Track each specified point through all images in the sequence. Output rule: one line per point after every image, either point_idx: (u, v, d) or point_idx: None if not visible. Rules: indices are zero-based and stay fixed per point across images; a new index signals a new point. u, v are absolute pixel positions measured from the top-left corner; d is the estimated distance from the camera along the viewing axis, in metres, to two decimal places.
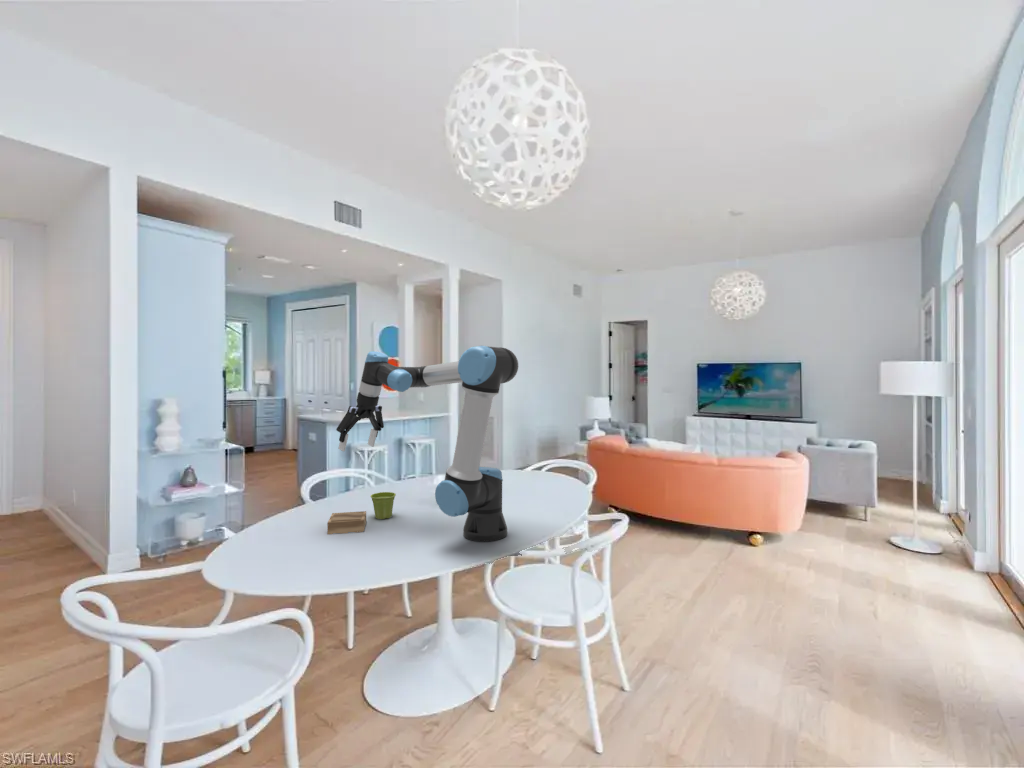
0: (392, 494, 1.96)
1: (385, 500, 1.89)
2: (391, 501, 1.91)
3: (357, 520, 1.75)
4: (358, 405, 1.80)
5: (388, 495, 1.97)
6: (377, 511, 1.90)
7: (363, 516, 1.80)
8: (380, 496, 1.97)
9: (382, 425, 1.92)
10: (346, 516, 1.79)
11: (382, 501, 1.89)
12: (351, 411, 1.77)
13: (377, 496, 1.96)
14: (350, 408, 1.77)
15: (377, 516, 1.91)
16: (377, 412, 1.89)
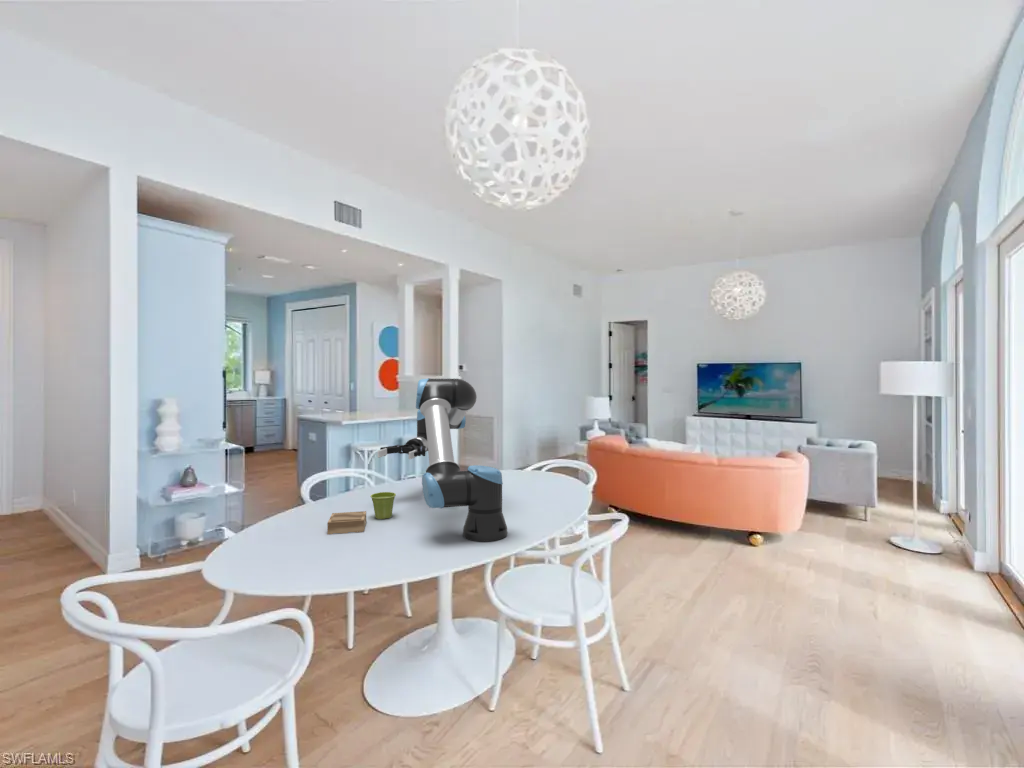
0: (392, 494, 1.96)
1: (385, 500, 1.89)
2: (391, 501, 1.91)
3: (357, 520, 1.75)
4: None
5: (388, 495, 1.97)
6: (377, 511, 1.90)
7: (363, 516, 1.80)
8: (380, 496, 1.97)
9: (423, 449, 2.07)
10: (346, 516, 1.79)
11: (382, 501, 1.89)
12: None
13: (377, 496, 1.96)
14: None
15: (377, 516, 1.91)
16: (421, 449, 2.13)
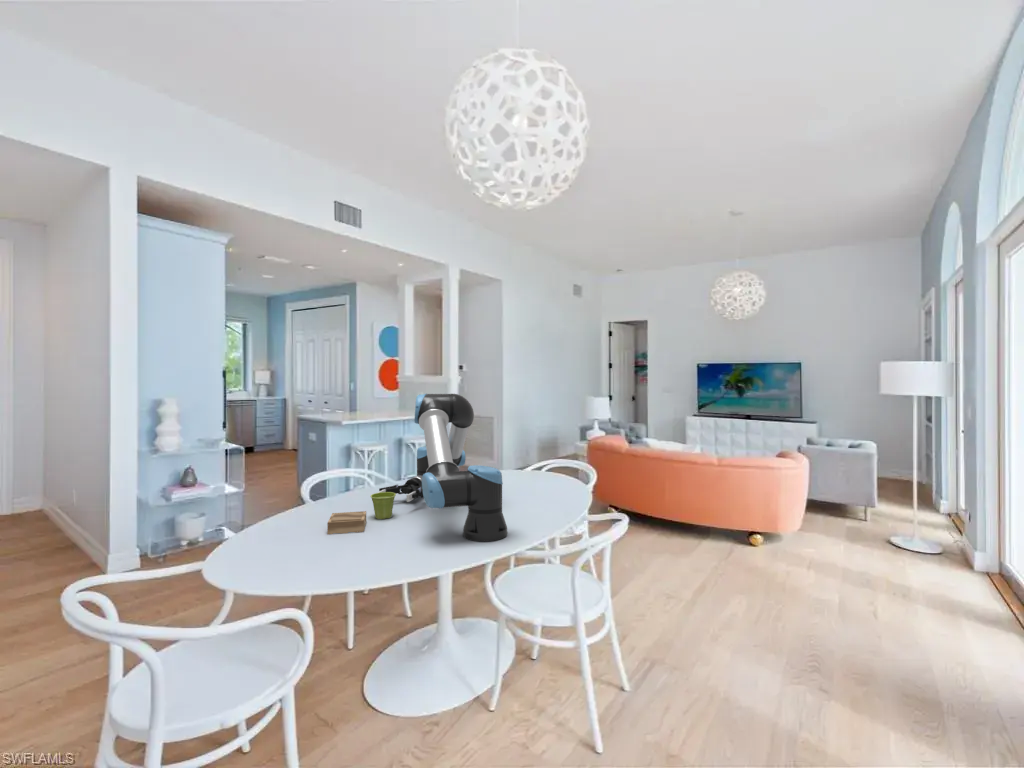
0: (392, 494, 1.96)
1: (385, 500, 1.89)
2: (391, 501, 1.91)
3: (357, 520, 1.75)
4: None
5: (388, 495, 1.97)
6: (377, 511, 1.90)
7: (363, 516, 1.80)
8: (380, 496, 1.97)
9: (422, 491, 2.06)
10: (346, 516, 1.79)
11: (382, 501, 1.89)
12: None
13: (377, 496, 1.96)
14: None
15: (377, 516, 1.91)
16: (420, 490, 2.12)
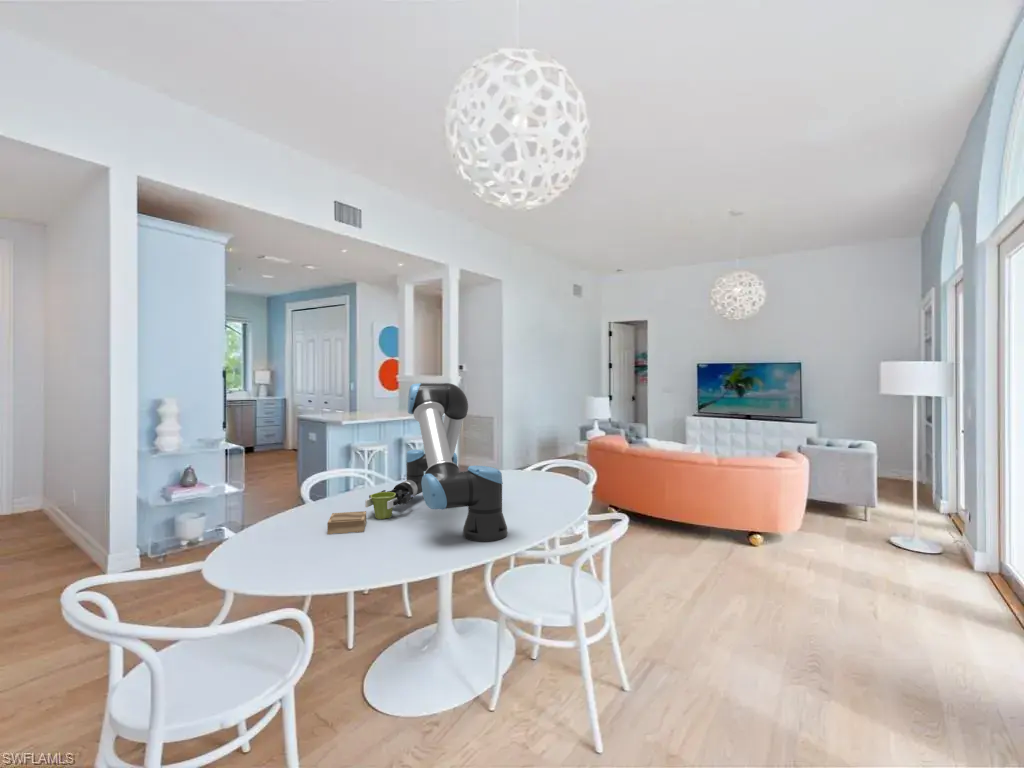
0: (392, 494, 1.96)
1: (385, 500, 1.89)
2: None
3: (357, 520, 1.75)
4: None
5: (388, 495, 1.97)
6: (377, 511, 1.90)
7: (363, 516, 1.80)
8: (380, 496, 1.97)
9: (404, 497, 1.95)
10: (346, 516, 1.79)
11: (382, 501, 1.89)
12: None
13: (377, 496, 1.96)
14: None
15: (377, 516, 1.91)
16: None
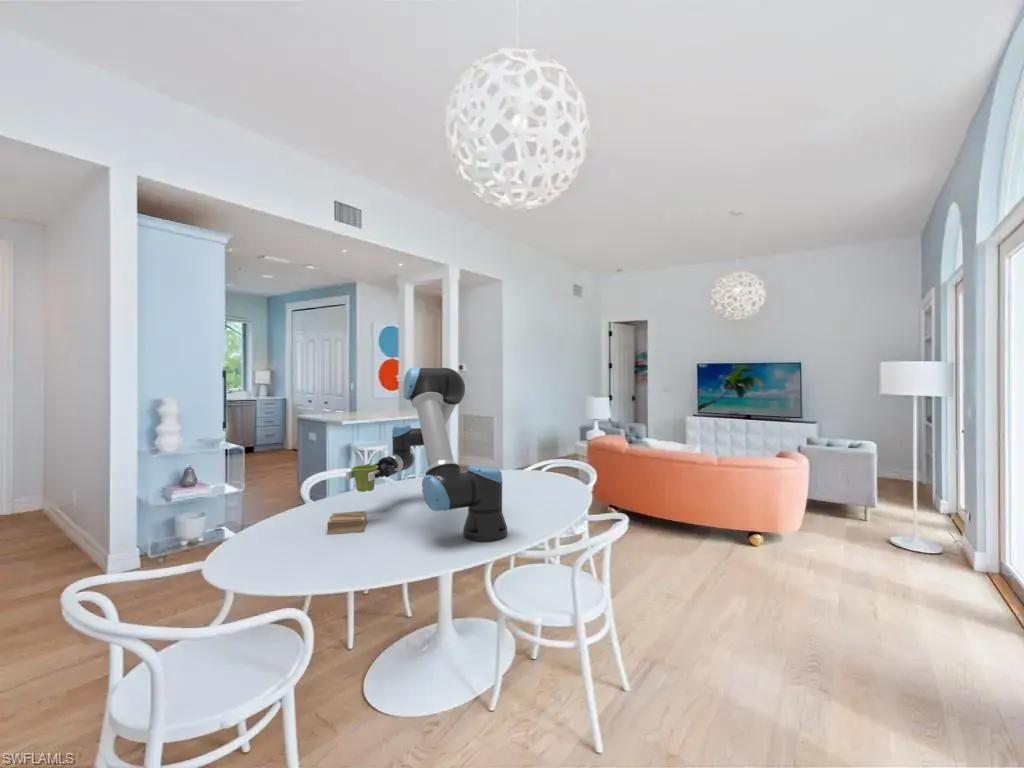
0: (375, 467, 1.90)
1: (366, 472, 1.84)
2: None
3: (357, 520, 1.75)
4: None
5: (371, 468, 1.91)
6: (358, 483, 1.84)
7: (363, 516, 1.80)
8: (362, 469, 1.91)
9: (387, 470, 1.89)
10: (346, 516, 1.79)
11: (363, 473, 1.83)
12: None
13: (359, 469, 1.90)
14: None
15: (358, 488, 1.85)
16: None
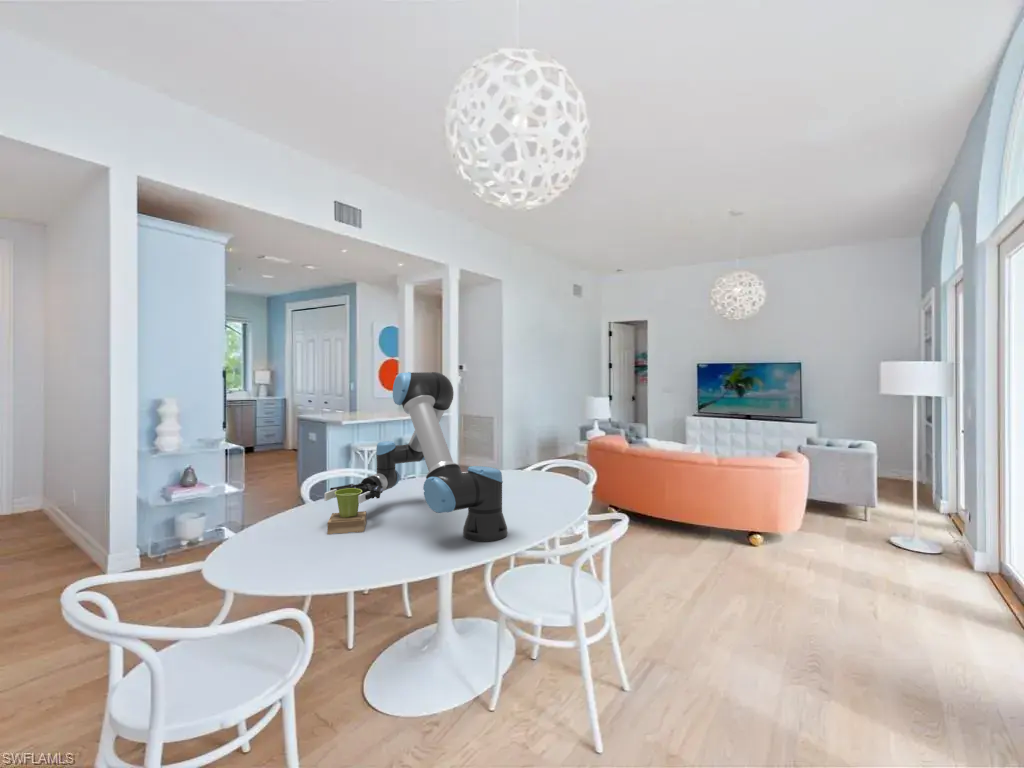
0: (358, 491, 1.83)
1: (350, 497, 1.76)
2: (356, 498, 1.78)
3: (357, 520, 1.75)
4: None
5: (354, 491, 1.84)
6: (341, 509, 1.77)
7: (363, 516, 1.80)
8: (346, 492, 1.83)
9: (378, 490, 1.82)
10: None
11: (346, 499, 1.76)
12: None
13: (342, 492, 1.83)
14: None
15: (341, 514, 1.78)
16: None
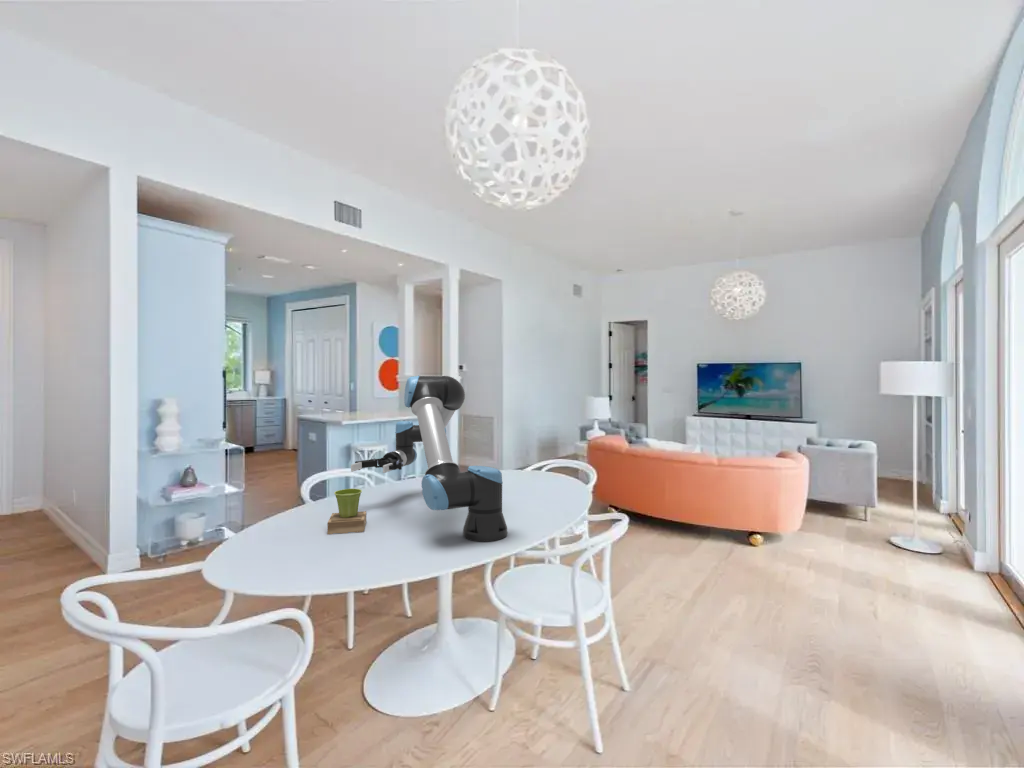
0: (358, 491, 1.83)
1: (350, 497, 1.76)
2: (356, 498, 1.78)
3: (357, 520, 1.75)
4: None
5: (354, 492, 1.84)
6: (341, 509, 1.77)
7: (363, 516, 1.80)
8: (345, 493, 1.84)
9: (400, 462, 1.97)
10: None
11: (346, 498, 1.76)
12: None
13: (342, 493, 1.83)
14: None
15: (341, 514, 1.78)
16: (398, 462, 2.03)
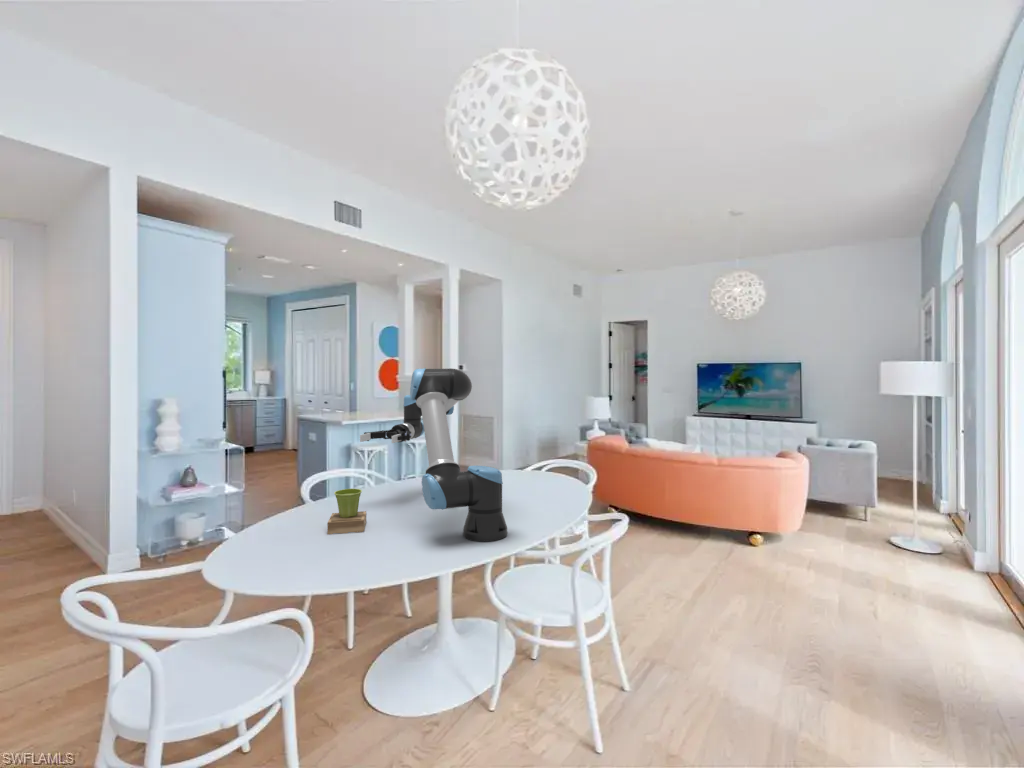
0: (358, 491, 1.83)
1: (350, 497, 1.76)
2: (356, 498, 1.78)
3: (357, 520, 1.75)
4: None
5: (354, 492, 1.84)
6: (341, 509, 1.77)
7: (363, 516, 1.80)
8: (345, 493, 1.84)
9: (408, 434, 2.00)
10: None
11: (346, 498, 1.76)
12: None
13: (342, 493, 1.83)
14: None
15: (341, 514, 1.78)
16: (406, 434, 2.06)
